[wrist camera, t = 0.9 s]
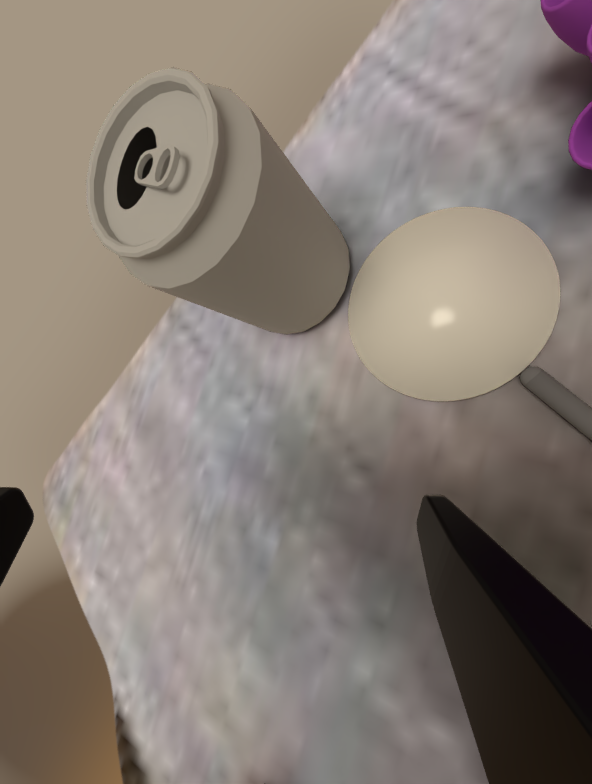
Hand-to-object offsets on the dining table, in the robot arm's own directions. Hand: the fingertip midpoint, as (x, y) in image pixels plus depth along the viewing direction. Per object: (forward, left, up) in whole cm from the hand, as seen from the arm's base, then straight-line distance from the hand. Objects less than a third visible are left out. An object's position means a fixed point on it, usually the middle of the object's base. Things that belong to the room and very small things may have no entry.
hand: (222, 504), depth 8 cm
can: (+11, -4, -14) cm, 18 cm away
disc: (+3, -8, -13) cm, 16 cm away
